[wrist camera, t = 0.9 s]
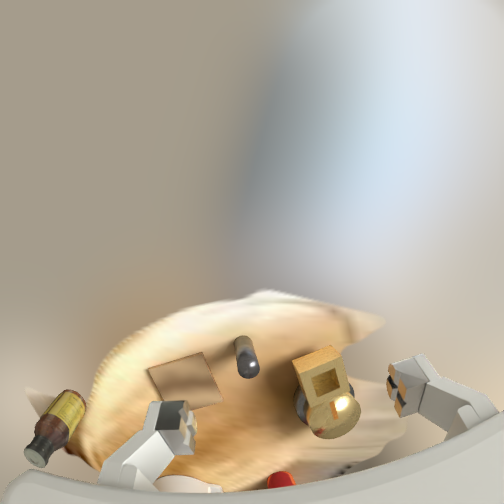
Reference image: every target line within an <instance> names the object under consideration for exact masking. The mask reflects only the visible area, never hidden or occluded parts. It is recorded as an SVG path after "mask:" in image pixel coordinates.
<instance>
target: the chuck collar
mask: <svg viewBox="0 0 504 504" xmlns="http://www.w3.org/2000/svg"><path fill="white" fill-rule="evenodd" d="M292 363H293V366H294V369H295V372H296V375H297V378H298V381H299V384H300V387H301V390H302V393H303V395H304V397H305V399H306V400H305V402H304V405H303V413H304V415H305V418H306V420H307V422H308V424H309V426H310V428H311V430H312V432H313V433H314V434H315V435H316V436H317V437H319V438H322V439H334V438H338V437H340V436H342V435H344V434H346V433H348V432H349V431H350V430H351V429H352V428H353V427H354V426H355V425H356V424H357V422H358V420H359V418H360V414H361V409H360V405H359V403H358V402H357V401H356V400H355V399H354V397H353V396H352V395H351V394H350V392H349V391H350V387H349V383H348V379H347V375H346V371H345V367H344V364H343V360H342V356H341V355H340V354H339V353H338V352H337V351H336V350H335V349H334V348H333V347H332V346H331V345H329V346H327V347H325V348H322V349H320V350H317V351H315V352H312V353H310V354H308V355H305V356H303V357H300V358H297V359H295V360H292Z"/></svg>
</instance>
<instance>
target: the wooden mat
mask: <svg viewBox="0 0 504 504" xmlns="http://www.w3.org/2000/svg"><path fill="white" fill-rule="evenodd" d="M148 371H149V373H150V375H151V377H152V379H153V381H154V383H155V385H156V386H157V388H158V390H159V392H160V394H161V396H162V398H163V400H164V401H178V400H187V401H188V403H189V405H190V409H189V410H190V411H191V410H195V409H199V408H202V407H206V406H209V405H213V404H216V403H220V402H223V397H222V395H221V393H220V391H219V389H218V387H217V384H216V382H215V380H214V378H213V376H212V373H211V371H210V369H209V367H208V364H207V362H206V360H205V358H204V355H203V353H202V352H200V353H197V354H194V355H191V356H188V357H184V358H181V359H178V360H174V361H171V362H168V363H164V364H161V365H157V366H154V367H151V368H149V370H148Z"/></svg>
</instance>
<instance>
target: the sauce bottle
mask: <svg viewBox="0 0 504 504" xmlns="http://www.w3.org/2000/svg"><path fill="white" fill-rule="evenodd" d="M85 411H86V403H85V400H84V399H83V397H82V396H81V395H80V394H79V393H78V392H76V391H73V390H64V391H63V392H62V393H60V394H59V395H58V396H57V398H56V399H55V400H54V401H53V402H52V404H51V405H50V406H49V407H48V409H47V410H46V411H45V412H44V414H43V415H42V416H41V418H40V420H39V421H38V422H37V423H36V426H35V431H34V433H35V437H34V439H33V440H32V442H31V443H30V444H29V445H28V446H27V447H26V448H25V449H24V455H25V457H26V458H27V460H28V461H29V462H30V463H32V464H33V465H35V466H37V467H39V468H44V467H45V466H46V465H47V463H48V459H49V457H50V456H51V454H52V453H53V452H54V451H56V450H58V449H60V448H62V447H64V446H65V445H66V444H67V443H68V441H69V439H70V437H71V436H72V434H73V433H74V431H75V429H76V427H77V426H78V424H79V423H80V421H81V419H82V418H83V416H84V414H85Z"/></svg>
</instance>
